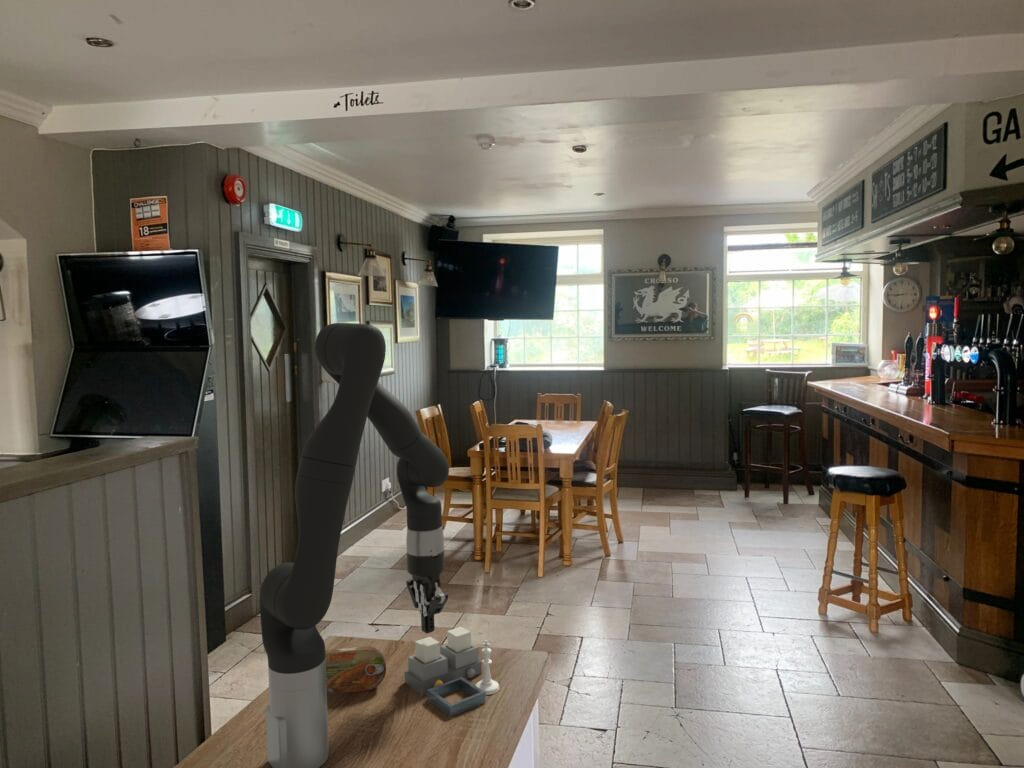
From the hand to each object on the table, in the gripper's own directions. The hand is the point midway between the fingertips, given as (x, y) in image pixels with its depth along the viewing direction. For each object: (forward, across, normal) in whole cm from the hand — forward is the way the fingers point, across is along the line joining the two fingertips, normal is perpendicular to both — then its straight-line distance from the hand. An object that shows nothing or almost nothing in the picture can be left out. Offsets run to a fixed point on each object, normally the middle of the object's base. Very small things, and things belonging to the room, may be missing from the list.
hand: (428, 631), depth 145 cm
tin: (+11, -8, -14) cm, 20 cm away
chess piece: (+11, +9, +8) cm, 17 cm away
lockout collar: (+11, +9, 0) cm, 14 cm away
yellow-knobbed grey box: (+11, 0, +3) cm, 12 cm away
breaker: (+6, 0, +8) cm, 9 cm away
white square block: (+6, 0, 0) cm, 6 cm away
